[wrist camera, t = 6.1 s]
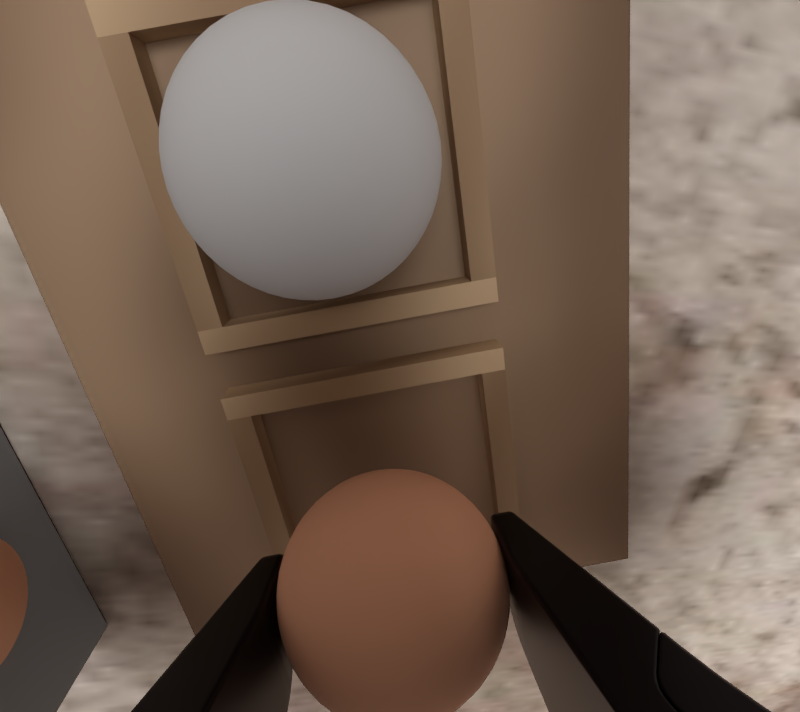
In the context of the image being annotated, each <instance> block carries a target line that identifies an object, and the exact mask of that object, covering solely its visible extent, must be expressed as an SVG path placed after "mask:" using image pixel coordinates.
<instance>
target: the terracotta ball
mask: <svg viewBox="0 0 800 712" xmlns="http://www.w3.org/2000/svg"><path fill="white" fill-rule="evenodd" d="M276 603H277V619H278V625H279V630H280V635H281V639H282V643H283V646H284V649H285V651H286V654H287V656H288V659H289V661H290V663H291V665H292V667H293V669H294V671H295V672H296V674H297V676H298V677H299V679H300V680H301V682H302V683H303V685H304V686H305V687H306V688H307V689H308V691H309V692H310V693H311V694H312V695H313V696H314V697H315V698H316V699H317V700H318V701H319V702H320V703H321V704H322V705H323V706H325V707H326V708H327V709H328V710H330V711H331V712H454V711H455V710H457V709H458V708H459V707H461V706H462V705H463V704H464V703H465V702H466V701H467V700H468V699H469V698H470V697H471V696H472V695H473V694H474V693H475V692H476V691H477V690H478V689H479V688H480V686H481V685H482V683H483V682H484V681H485V679H486V678H487V676H488V675H489V673H490V671H491V670H492V668H493V666H494V664H495V662H496V660H497V658H498V655H499V653H500V650H501V648H502V645H503V642H504V639H505V635H506V630H507V625H508V619H509V609H510V588H509V580H508V574H507V569H506V564H505V560H504V557H503V554H502V551H501V548H500V545H499V543H498V540H497V538H496V536H495V534H494V532H493V530H492V529H491V527H490V525H489V523H488V522H487V520H486V519H485V518H484V516H483V515H482V513H481V512H480V511H479V510H478V509H477V507H476V506H475V505H474V504H473V503H472V502H471V501H470V500H469V499H468V498H466V497H465V496H464V495H463V494H462V493H461V492H460V491H458V490H457V489H455V488H454V487H452V486H451V485H449V484H448V483H446V482H444V481H442V480H440V479H438V478H436V477H434V476H431V475H428V474H425V473H422V472H418V471H413V470H406V469H383V470H375V471H371V472H366V473H362V474H360V475H357V476H354V477H352V478H349V479H347V480H345V481H343V482H341V483H340V484H338V485H337V486H335V487H334V488H332V489H331V490H329V491H328V492H327V493H325V494H324V495H323V496H322V497H321V498H320V499H319V500H317V501H316V502H315V503H314V505H313V506H312V507H311V508H310V509H309V510H308V512H307V513H306V514H305V515H304V516H303V518H302V519H301V521H300V522H299V524H298V525H297V527H296V529H295V530H294V532H293V534H292V536H291V538H290V540H289V543H288V545H287V547H286V550H285V553H284V556H283V559H282V563H281V566H280V570H279V576H278V583H277V594H276Z"/></svg>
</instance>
